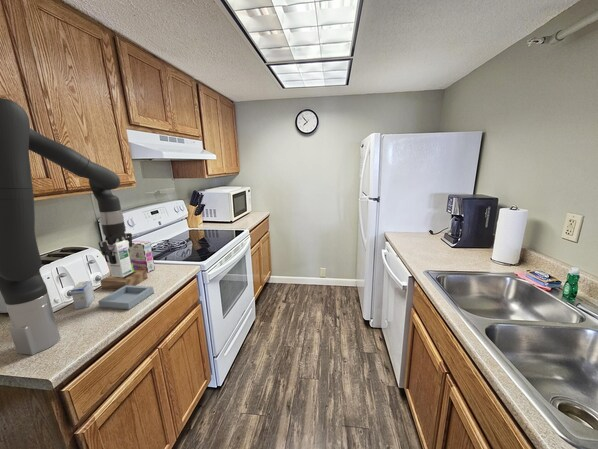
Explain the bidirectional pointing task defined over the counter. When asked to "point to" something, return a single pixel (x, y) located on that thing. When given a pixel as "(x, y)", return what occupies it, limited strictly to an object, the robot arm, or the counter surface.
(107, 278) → the socket collar
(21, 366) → the counter surface
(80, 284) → the medicine box
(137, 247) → the candy bar box
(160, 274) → the counter surface
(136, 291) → the tray
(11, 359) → the counter surface
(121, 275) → the syrup box
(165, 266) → the counter surface
